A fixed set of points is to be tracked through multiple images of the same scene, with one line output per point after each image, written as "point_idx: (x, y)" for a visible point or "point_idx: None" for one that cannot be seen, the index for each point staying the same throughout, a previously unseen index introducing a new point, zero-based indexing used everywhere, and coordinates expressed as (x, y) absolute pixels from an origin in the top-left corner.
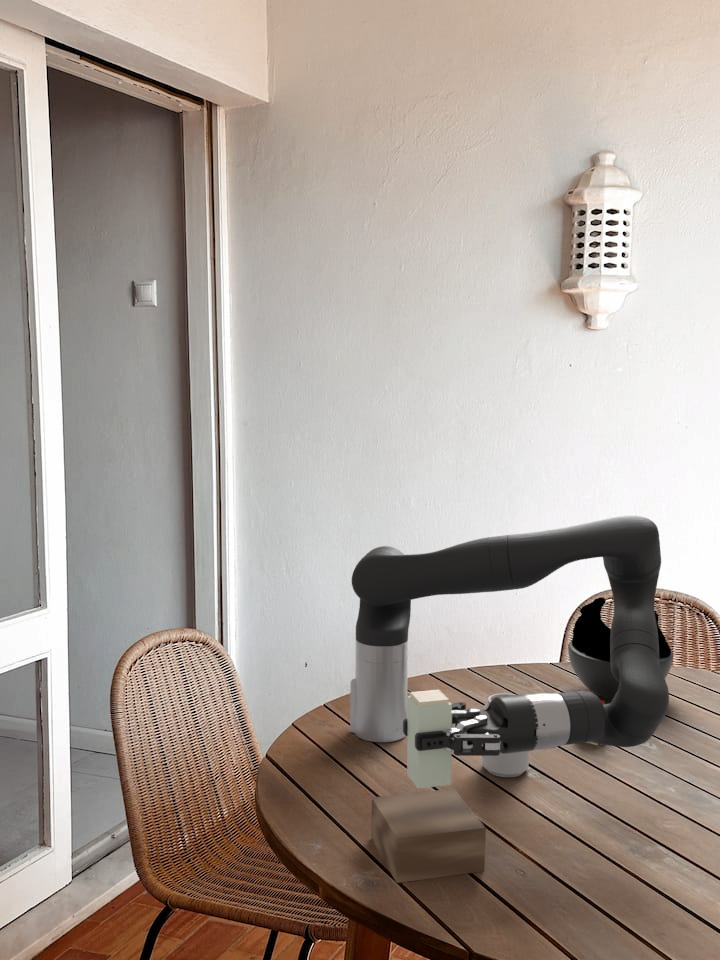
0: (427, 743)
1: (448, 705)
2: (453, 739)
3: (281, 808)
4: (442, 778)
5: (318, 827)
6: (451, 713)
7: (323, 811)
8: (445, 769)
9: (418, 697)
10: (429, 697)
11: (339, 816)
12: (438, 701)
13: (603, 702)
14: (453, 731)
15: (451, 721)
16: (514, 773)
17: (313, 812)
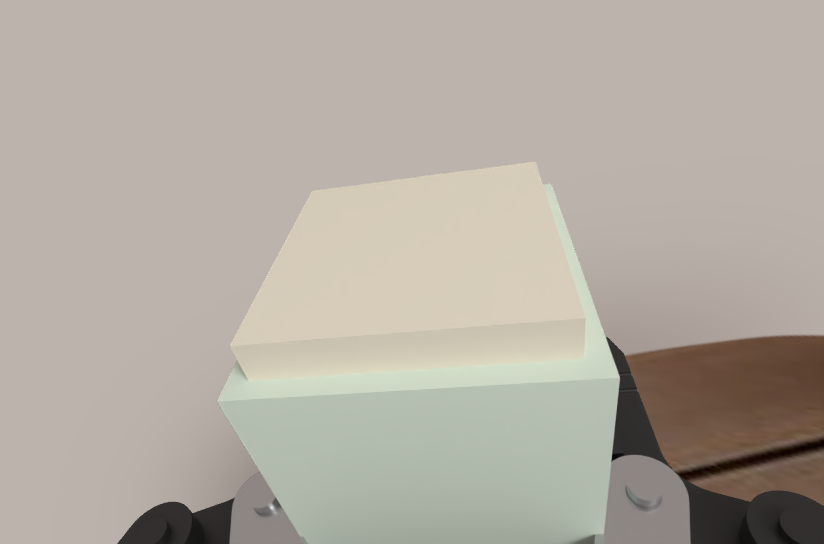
0: None
1: (231, 376)
2: (195, 516)
3: (784, 362)
4: None
5: (685, 423)
6: (255, 458)
7: (792, 447)
8: None
9: (402, 187)
10: (369, 233)
11: (767, 482)
12: (270, 280)
13: None
14: (245, 530)
15: (278, 500)
16: None
17: (778, 423)
